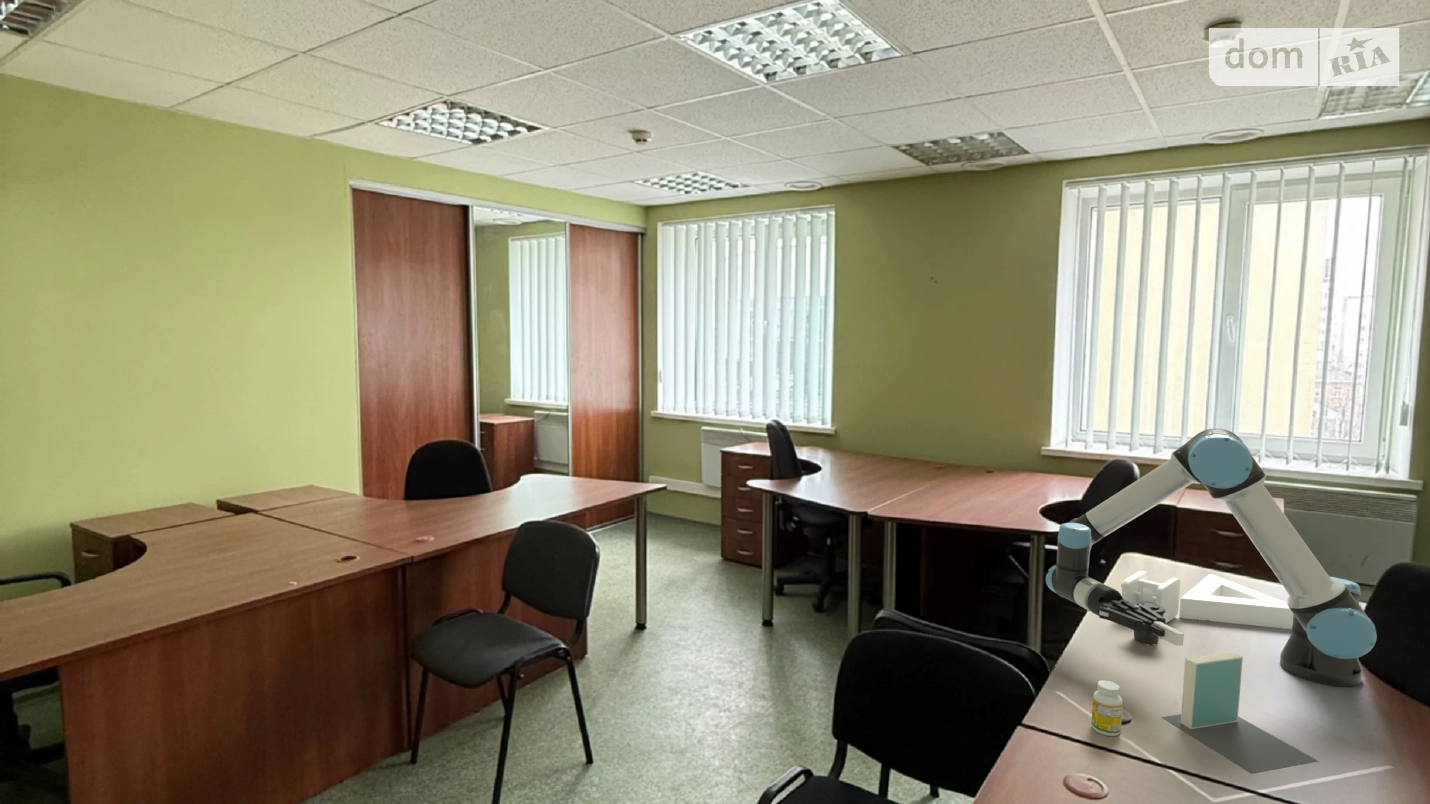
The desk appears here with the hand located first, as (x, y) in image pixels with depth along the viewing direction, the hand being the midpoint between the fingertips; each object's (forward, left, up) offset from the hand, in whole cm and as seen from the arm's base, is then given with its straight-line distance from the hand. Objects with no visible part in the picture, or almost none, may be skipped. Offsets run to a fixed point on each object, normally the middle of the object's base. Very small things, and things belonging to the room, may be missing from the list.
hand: (1180, 639), depth 159 cm
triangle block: (-32, -68, -16) cm, 77 cm away
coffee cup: (-3, -35, -15) cm, 39 cm away
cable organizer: (-8, -52, -15) cm, 55 cm away
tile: (-4, +7, -15) cm, 16 cm away
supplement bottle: (+17, +15, -15) cm, 27 cm away
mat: (-7, +12, -15) cm, 20 cm away
